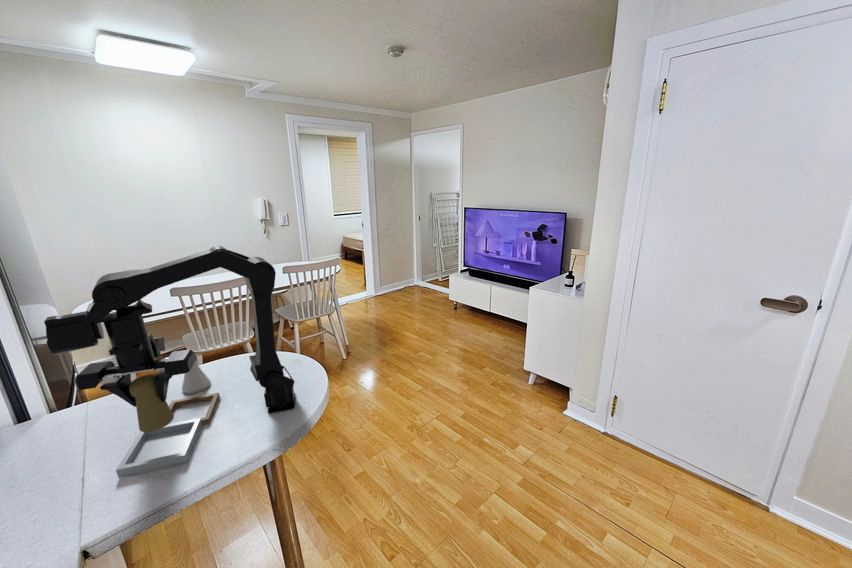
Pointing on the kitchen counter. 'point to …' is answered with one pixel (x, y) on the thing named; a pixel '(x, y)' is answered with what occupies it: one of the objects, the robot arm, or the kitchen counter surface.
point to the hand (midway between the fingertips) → (150, 403)
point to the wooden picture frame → (198, 399)
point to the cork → (149, 405)
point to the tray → (160, 448)
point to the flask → (195, 380)
